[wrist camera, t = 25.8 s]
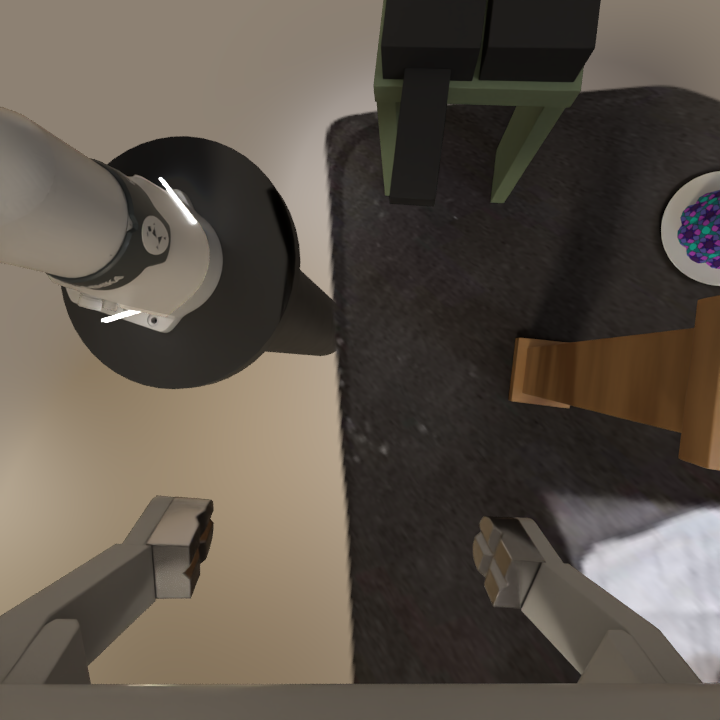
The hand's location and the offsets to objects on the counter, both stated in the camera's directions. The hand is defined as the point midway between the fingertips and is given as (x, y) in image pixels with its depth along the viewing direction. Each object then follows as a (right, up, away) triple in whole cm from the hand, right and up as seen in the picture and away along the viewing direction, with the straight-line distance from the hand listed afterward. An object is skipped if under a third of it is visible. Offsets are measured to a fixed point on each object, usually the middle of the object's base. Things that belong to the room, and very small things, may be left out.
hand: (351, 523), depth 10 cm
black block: (+11, +26, +12) cm, 31 cm away
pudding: (+38, +19, +26) cm, 50 cm away
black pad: (+5, +23, +13) cm, 27 cm away
